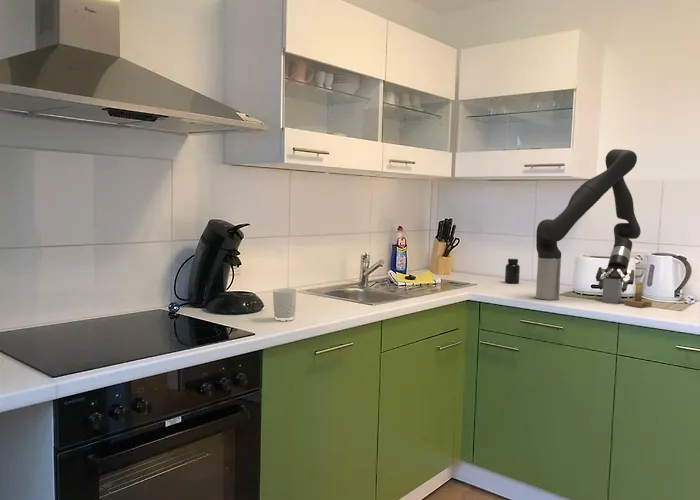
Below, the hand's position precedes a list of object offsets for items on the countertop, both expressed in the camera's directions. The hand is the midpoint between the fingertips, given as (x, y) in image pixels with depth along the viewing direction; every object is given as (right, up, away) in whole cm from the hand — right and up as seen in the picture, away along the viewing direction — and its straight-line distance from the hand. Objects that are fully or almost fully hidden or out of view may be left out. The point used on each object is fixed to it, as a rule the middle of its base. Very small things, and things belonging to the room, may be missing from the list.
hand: (611, 289), depth 240 cm
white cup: (-129, -8, -40) cm, 135 cm away
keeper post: (+8, -6, -6) cm, 12 cm away
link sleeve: (+1, -5, +1) cm, 5 cm away
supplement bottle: (-27, 0, +51) cm, 57 cm away
